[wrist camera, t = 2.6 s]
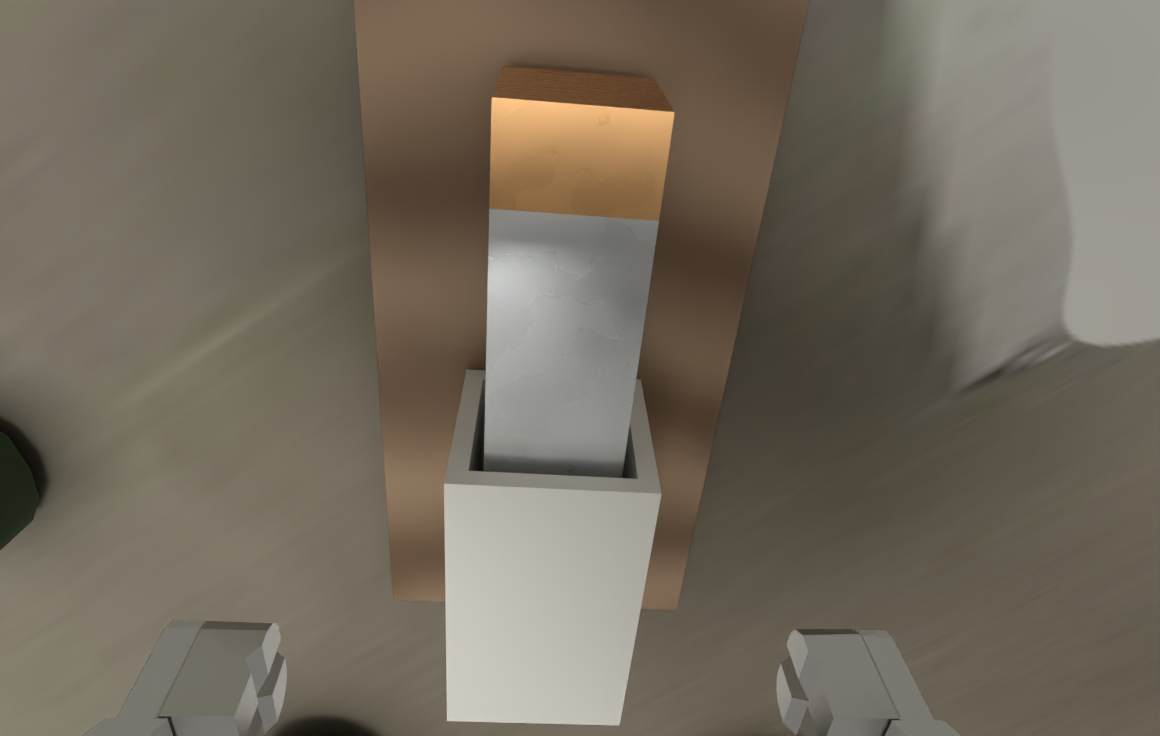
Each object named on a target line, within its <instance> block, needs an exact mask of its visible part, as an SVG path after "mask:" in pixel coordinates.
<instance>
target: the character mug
mask: <svg viewBox="0 0 1160 736" xmlns="http://www.w3.org/2000/svg"><path fill="white" fill-rule="evenodd" d="M39 499H40V498H39V495H38V492H37V489H36V485H35V482H34V479H33V476H32V473H31V469H30V468H29V466H28V465H27V463H26V462H25V460H24V459H23V457H22V456H21V454H20V453H19V451H18V450H17V448H16V447H15V445H14V444H13V442H12V441H11V439H10V438H9V436H7V435H5V434H4V433H2V432H0V550H1V549H2V548H3V547H4V546H5V545H7V544H8V543H9V542H10V541H11V540H12V539H13V538H14V537H15V536H16V535H17V534H18V533H19V532H20V531H22V530H23V529H24V528H25V527H26V526H27V525H28V524H29V523H30V522H31V521H32V520H33V517H34V514H35V511H36V508H37V505H38V502H39Z"/></svg>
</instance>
